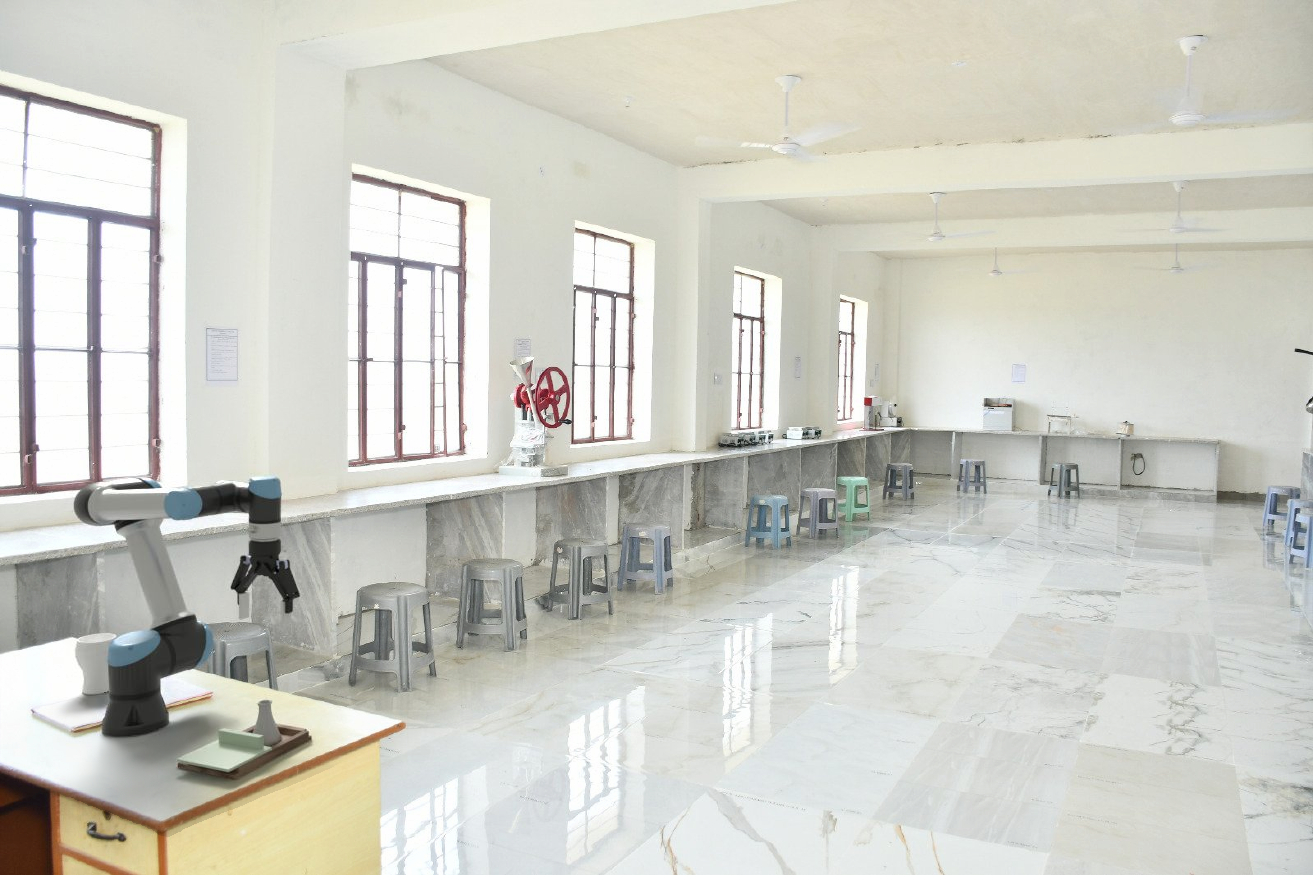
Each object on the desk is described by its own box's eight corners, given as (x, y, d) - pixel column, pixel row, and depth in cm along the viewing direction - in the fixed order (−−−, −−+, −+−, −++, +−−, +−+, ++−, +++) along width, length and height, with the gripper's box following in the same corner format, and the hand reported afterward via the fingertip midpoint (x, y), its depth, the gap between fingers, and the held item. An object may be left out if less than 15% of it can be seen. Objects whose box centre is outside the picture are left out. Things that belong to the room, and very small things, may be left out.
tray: (177, 767, 225) (177, 756, 225) (256, 729, 248) (256, 720, 248) (236, 779, 219) (235, 768, 219) (311, 739, 242) (311, 729, 242)
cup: (127, 688, 277) (126, 636, 276) (89, 699, 268) (87, 645, 267) (107, 681, 282) (105, 630, 281) (68, 691, 274) (67, 639, 272)
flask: (270, 749, 234) (269, 708, 233) (243, 746, 235) (242, 705, 234) (287, 737, 241) (286, 698, 240) (261, 735, 242) (260, 695, 242)
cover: (176, 761, 222) (176, 746, 222) (221, 740, 235) (221, 725, 234) (228, 772, 217) (228, 756, 217) (271, 749, 229) (271, 734, 229)
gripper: (215, 535, 246) (215, 618, 248) (293, 546, 236) (292, 632, 238) (238, 531, 253) (238, 611, 255) (315, 541, 243) (314, 625, 245)
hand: (264, 621), depth 246 cm, fingers open, 13 cm apart
